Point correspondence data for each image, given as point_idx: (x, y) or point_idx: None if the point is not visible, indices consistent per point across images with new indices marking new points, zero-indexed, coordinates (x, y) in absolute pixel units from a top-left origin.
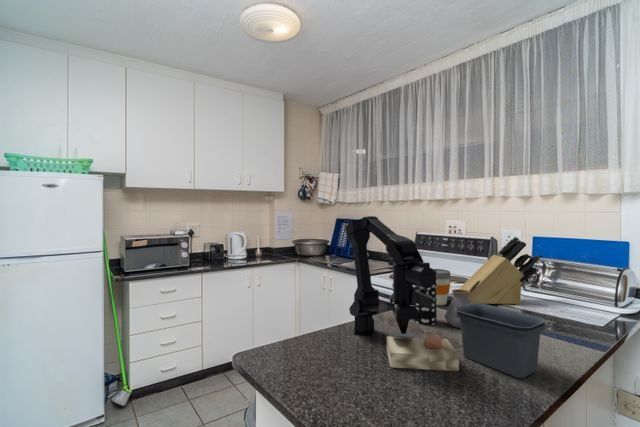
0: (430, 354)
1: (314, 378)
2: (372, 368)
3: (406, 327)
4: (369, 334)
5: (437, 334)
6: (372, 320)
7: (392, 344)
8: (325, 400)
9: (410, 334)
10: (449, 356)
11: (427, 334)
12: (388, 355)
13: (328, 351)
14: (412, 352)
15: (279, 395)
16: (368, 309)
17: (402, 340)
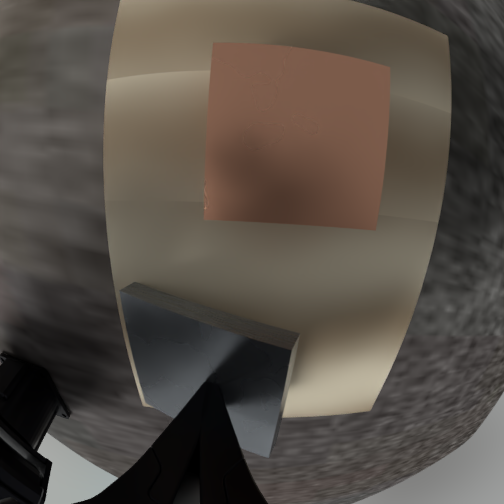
0: (436, 214)
1: (367, 472)
2: None
3: (237, 440)
4: (50, 381)
5: (215, 53)
6: (7, 400)
7: None
8: (443, 440)
9: (285, 379)
10: (448, 90)
11: (229, 184)
12: None
13: None
14: (394, 322)
15: (402, 479)
16: (18, 468)
17: None
